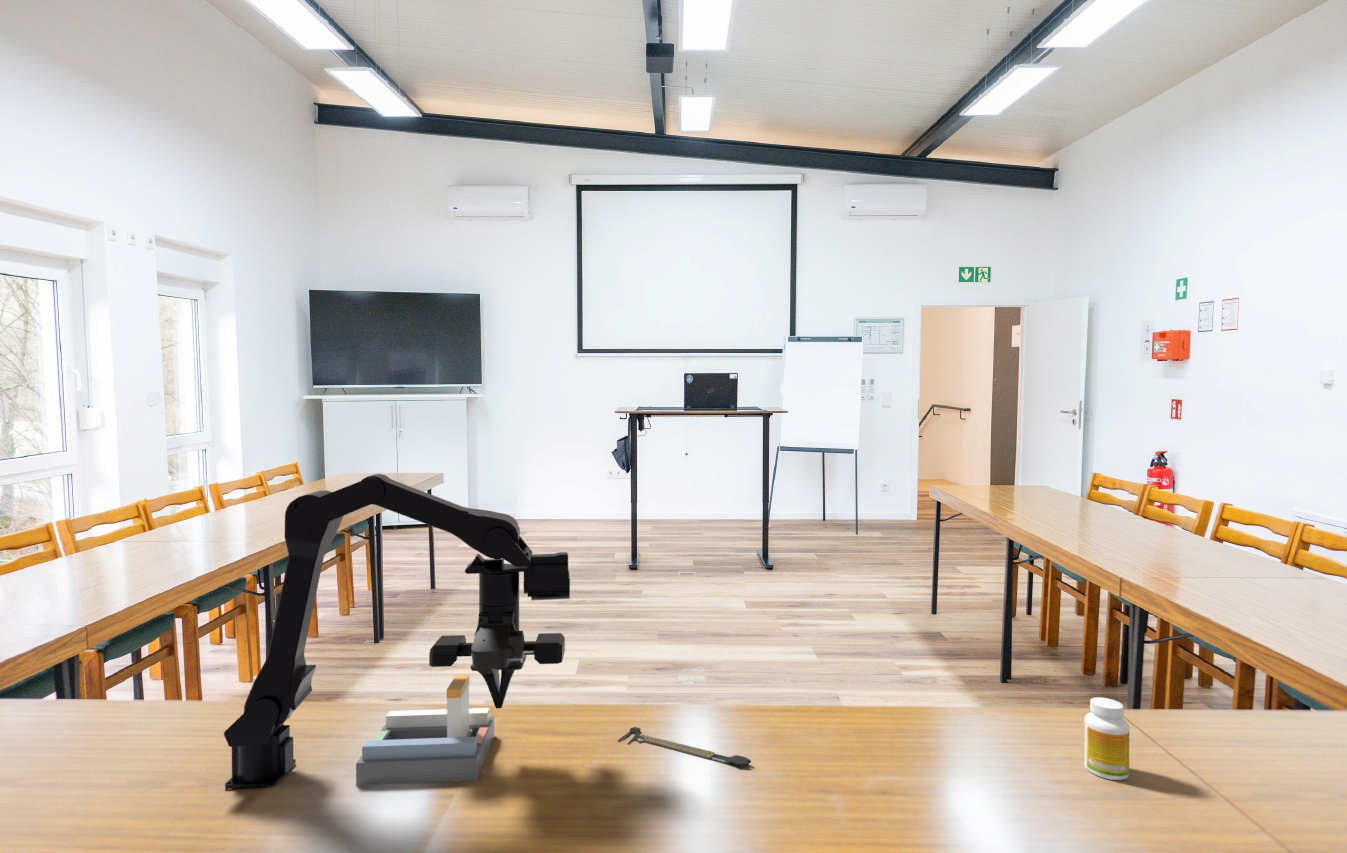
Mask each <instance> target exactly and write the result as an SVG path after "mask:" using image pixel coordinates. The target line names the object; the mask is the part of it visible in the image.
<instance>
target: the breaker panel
mask: <svg viewBox="0 0 1347 853" xmlns="http://www.w3.org/2000/svg"><path fill="white" fill-rule="evenodd" d="M490 709H491V708H490V707H477V708H476V707H475V708H474V707H473V708H470V707H469V729H473V737H452V738H447V708H446V709H445V708H444V709H441V708H439V709H414V710H413V709H412V710H411V709H409V710H389V712H388V713H387V714H386V715H385V724H384V726H383V727H382V728H381V730H380V731H379V732H378V733H377V735H376V736H375V738H374V739H371V740H370V739H369V740H366V741H365V742H364V744H363V745H362V746H361V747H362V748H361V754H362V755H361V756H360V757H359V759H358V760H356V762H355V786H369V785H372V786H373V785H391V784H392V785H395V784H397V785H398V784H417V783H419V784H421V783H442V782H443V783H446V782H466V781H467V782H468V781H469V782H470V781H477V780H478V778H479V776H480V773H481V770H482V768H483V765H484V763H485V761H486V757H487V755H488V753H489V751H490V748H491V745H492V742H493V740H494V737H495V716H491V715H490V713H491V710H490Z"/></svg>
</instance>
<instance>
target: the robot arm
mask: <svg viewBox="0 0 1347 853" xmlns="http://www.w3.org/2000/svg"><path fill="white" fill-rule="evenodd" d="M370 505H374V506H377V507H380V508H383V509H385V510H388V511H391V512H394V513H396V514H399V515H401V516H404V517H407V518H409V519H412V520H415V521H418V522H420V523H423V524H424V525H425V524H426V525H428V526H431V527H433V528H436V529H439V530H441V531H443V532H445V533H446V532H447V533H449V534H451V535H453V536H455V537H456V538H458V539H459V540H461V541H462V542H463V543H464V544H466V545H467V546H468V547H470V548H471V549H473V550H475V551H477V552H479V553H477V554H476V555H475V557H474V559H473V560H472V561H471V562H470V563H469V564H467V566H466V568H465V570H464V572H465V574H466V575H469V574H470V575H471V574H472V575H473V574H478V575H479V576H478V597H479V598H478V622H477V627H476V630H475V632H474V638H473V641H472V642H467V638H466V635H464V634H460V635H459V634H457V635H455V634H454V635H453V634H451V635H450V634H449V635H441V636H440V637H439V638H438V639H437V640H436V641H435V643H434V644H433V645H432V646H431V648H430V649H429V653H428V654H429V658H428V659H429V661H428V662H429V664H428V665H429V666H430V667H432V668H435V667H436V668H438V667H439V668H440V667H441V668H442V667H443V668H444V667H446V668H448V667H452V666H453V665H454V664H455V663H456V662H457V660H458V657H460V658H461V657H471V665H470V670H471V671H472V672H478V673H479V674H480V675H481V676H482V677H483V679H484V682H485V683H486V685H487V688H488V692H489V693H490V696H491V698H492V702H493V704H494V707H495V709H502V708H503V706H504V702H505V699H506V696H507V692H508V690H509V687H510V684H511V680H512V677H513V675H514V673H515V671H519V670H522V669H523V667H524V665H525V662H526V660H527V657H528V656H534V658H533V659H534V660H535V661H536V663H538V664H539V665H553V664H554V665H555V664H556V665H557V664H561V663H563V660H564V655H565V652H566V645H565V644H566V639H565V638H566V637H565V636H564V634H563V633H561V632H555V633H554V632H553V633H551V632H550V633H549V632H548V633H545V632H544V633H543V632H542V633H538V634H537V636H536V640H532V641H531V640H530V641H529V640H526V641H525V634H524V631H523V630H520V573H523V594H524V595H525V594H526V595H527V597H528V598H530V597H531V601H553V600H570V599H571V598H570V596H571V595H570V594H571V577H570V570H569V553H568V552H567V551H564V552H556V553H542V554H540V553H539V554H538V553H537V554H536V553H535V554H533V550H531V547H530V546H529V545H528V544H527V543H526V542H525V541H524V539H523V537H521V536H520V535H521V527H520V525H519V524H518V523H519V522H518V521H517V520H516V518H515V517H514V516H512V515H510V514H508V513H507V514H506V513H502V512H497V511H492V510H487V509H478V508H470V507H466V506H462V505H459V504H457V503H454V502H451V501H449V500H447V499H443V498H441V497H438V496H437V495H433V494H431V493H428V492H426V491H424V490H420V489H417V488H415V487H412V486H411V485H408V484H404V483H402V482H399V481H397V480H394V479H391V478H390V477H388V476H387V475H385V474H381V473H375V474H371V475H368V476H366V477H364V478H362V479H361V480H359V481H358V482H355V483H353V484H350V485H348V486H347V485H346V486H344V487H342V488H339V489H337V490H334V491H330V490H322V489H320V490H316V491H313V492H309V493H307V494H304V495H303V494H302V495H300V496H298V497H296V498H295V499H294V500H292V501H290V502H289V503H288V504H287V506H286V509H285V512H284V536H283V537H284V540H285V545H286V550H287V556H288V558H287V564H286V568H285V572H284V577H283V582H282V587H281V592H280V597H279V601H278V605H277V611H276V615H275V620H274V624H273V630H272V634H271V639H270V643H269V649H268V653H267V657H266V659H265V661H264V663H263V665H262V666H261V668H260V670H259V672H258V674H257V676H256V678H255V680H254V681H253V683H252V685H251V689H250V690H249V693H248V695H247V698H246V701H245V703H244V706H243V713H242V714H241V715H240V716H239V717H238V718H237V719H236V720H235V721H234V722H232V724H231V725H230V726H229V727H228V728H227V729H225V731H224V732H223V736H224V738H225V741H226V743H227V745H228V747H230V748H231V777H230V779H228V780H227V781H226V782H225V783H224V788H225V789H237V788H240V789H241V788H262V787H263V788H264V787H266V788H268V787H274V786H275V785H277V784H278V783H279V782H280V780H281V779H283V777H284V776H285V775H286V774H287V773H288V772H289V771H290V770H291V769H292V767H294V765H295V764H296V761H297V760H296V759H295V758H294V737H293V736H291V725H289V724H285V722H286V721H287V720H288V719H290V718H291V717H292V714H293V712H295V711H296V710H297V708H299V707H300V705H302V703H303V702H304V701H305V699H306V698H308V696H309V695H310V694H311V693H312V692H313V687H312V679H313V677H314V675H315V672H316V668H317V665H316V664H307V661H306V658H305V648H306V644H307V639H308V634H309V629H310V625H311V621H312V616H313V610H314V606H315V601H316V598H317V597H316V596H317V591H318V587H319V582H320V579H321V578H320V577H321V574H322V573H321V571H322V567H323V563H324V558H325V555H326V554H327V553H328V550H329V549H330V546H331V544H332V543H333V540H334V539H335V537H336V535H337V533H338V530H339V528H340V525H341V524H342V521H343V518H344V516H346V515H348V514H350V513H351V514H352V513H353V512H355V511H358V510H361V509H364V508H365V507H368V506H370ZM481 554H482V555H484V556H485V557H487V558H489V559H487V558H484V557H483V556H482V555H481ZM505 561H506V562H507V563H505ZM500 673H501V674H500Z"/></svg>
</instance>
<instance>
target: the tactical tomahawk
mask: <svg viewBox="0 0 1347 853" xmlns="http://www.w3.org/2000/svg"><path fill="white" fill-rule="evenodd" d="M641 731H642V730H641V727H638V726H633V727H631V728H629V731H628V732H627V733H626V734H624V735H622V736H621V737H620V738H619V739H618V740H617V741H616V743H622V741H625V740H627V738H629V737H630V736H631V735H632V734H634V736H633V737H632V738H631V739H630V740H629V741H628V742H627V743H626V745H628V746H630V745H631V744H632V743H633V742H637V743H639V744H642V743H643V744H644V743H646V744H650V745H654V746H658V747H661V748H666V749H668V750H673V751H676V752H679V753H684V754H686V755H690V756H694V757H698V758H702V759H705V760H710V761H712V762H715V763H720V764H724V765H730V764H733V765H735V766H749V765H750V763H752V760H751V759H750V758H748V757H746V756H742V755H739V754H738V755H736V754H735V755H732V756H726V755H721V754H718V753H715V751H711V750H707V749H703V748H698V747H695V746H690V745H686V744H683V743H679V742H675V741H670V740H667V739H662V738H657V737H653V736H650V735H646V734H641Z"/></svg>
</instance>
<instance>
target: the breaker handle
mask: <svg viewBox="0 0 1347 853" xmlns="http://www.w3.org/2000/svg"><path fill="white" fill-rule="evenodd" d="M469 708H470V675H469V674H462V675H459V674H457V675H455V676H454V678H453V679H452V680H451V682H450V684H449V685H448V687H447V689H446V709H447V738H452V737H473V729H469Z"/></svg>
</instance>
